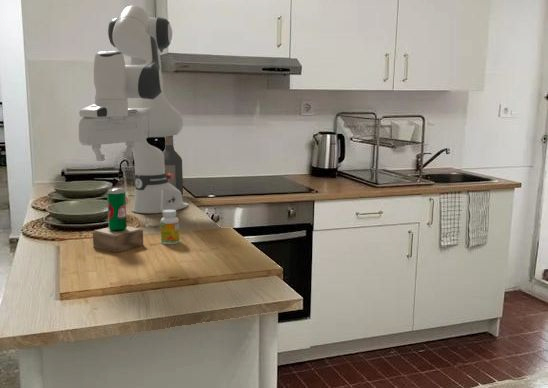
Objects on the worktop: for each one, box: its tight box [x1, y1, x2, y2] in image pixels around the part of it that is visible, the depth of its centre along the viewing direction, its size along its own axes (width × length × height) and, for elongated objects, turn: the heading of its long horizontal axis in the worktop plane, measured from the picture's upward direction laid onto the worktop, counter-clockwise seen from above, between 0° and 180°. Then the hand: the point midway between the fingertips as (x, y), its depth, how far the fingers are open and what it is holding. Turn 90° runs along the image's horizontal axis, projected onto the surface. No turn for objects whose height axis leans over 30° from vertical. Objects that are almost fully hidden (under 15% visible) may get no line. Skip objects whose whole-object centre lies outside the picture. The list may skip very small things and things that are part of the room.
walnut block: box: [92, 225, 144, 254], centre depth 162 cm, size 10×10×5 cm
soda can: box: [106, 187, 128, 231], centre depth 160 cm, size 5×5×12 cm
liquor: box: [162, 135, 184, 196], centre depth 242 cm, size 9×9×30 cm
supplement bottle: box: [160, 209, 180, 245], centre depth 166 cm, size 5×5×10 cm
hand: (114, 159), depth 158 cm, fingers open, 8 cm apart
